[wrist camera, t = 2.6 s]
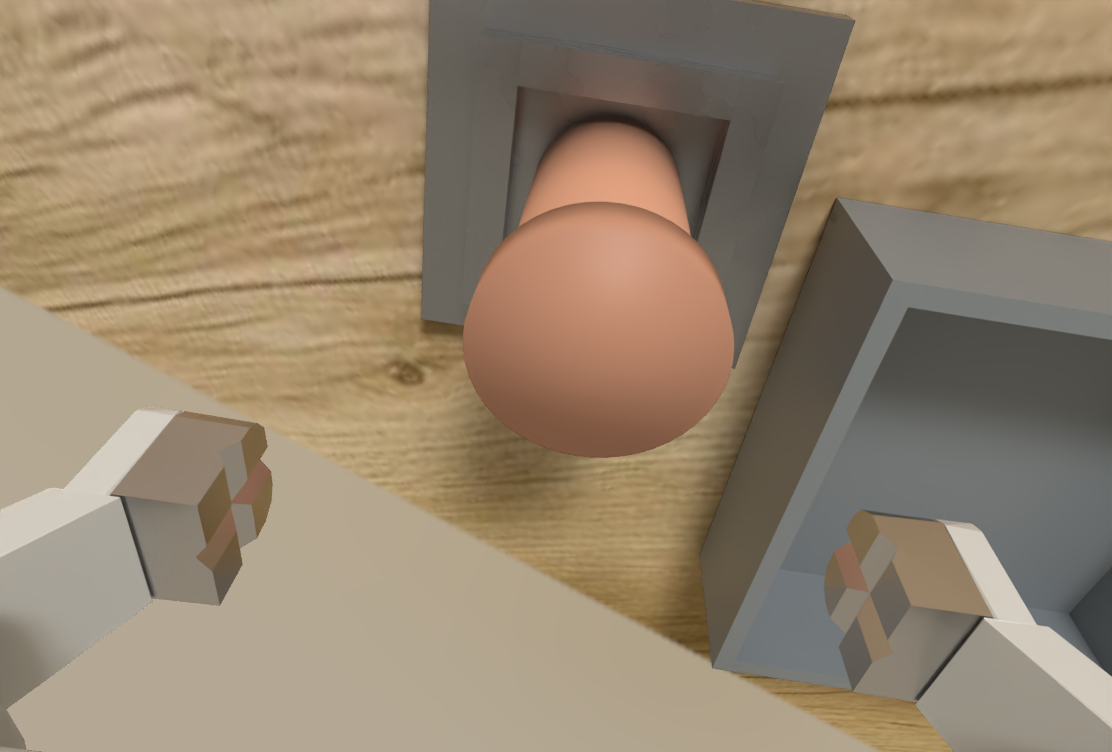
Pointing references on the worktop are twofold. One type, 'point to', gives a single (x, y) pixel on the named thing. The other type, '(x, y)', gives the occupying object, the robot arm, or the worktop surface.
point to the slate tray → (924, 430)
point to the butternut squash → (600, 302)
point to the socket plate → (628, 92)
